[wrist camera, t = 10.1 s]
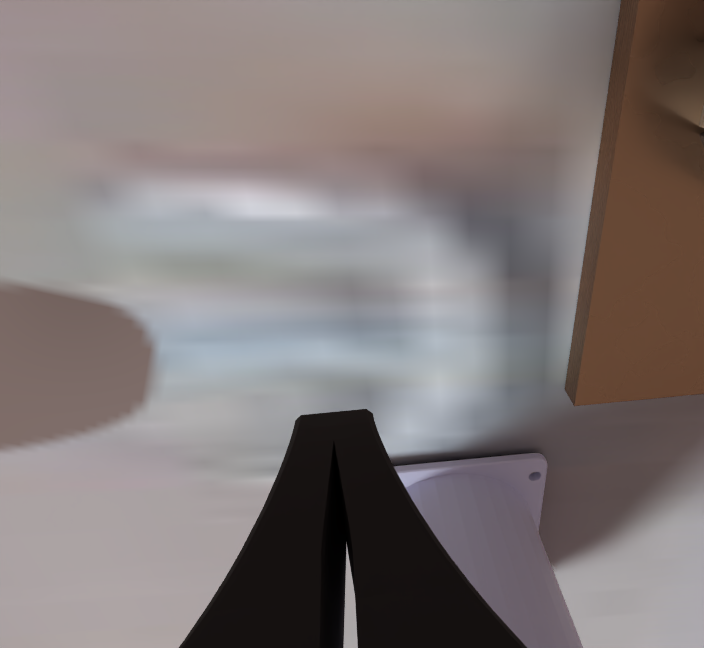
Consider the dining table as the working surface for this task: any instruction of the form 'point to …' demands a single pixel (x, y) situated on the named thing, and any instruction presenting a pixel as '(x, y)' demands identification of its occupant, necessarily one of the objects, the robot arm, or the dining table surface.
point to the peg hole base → (646, 217)
